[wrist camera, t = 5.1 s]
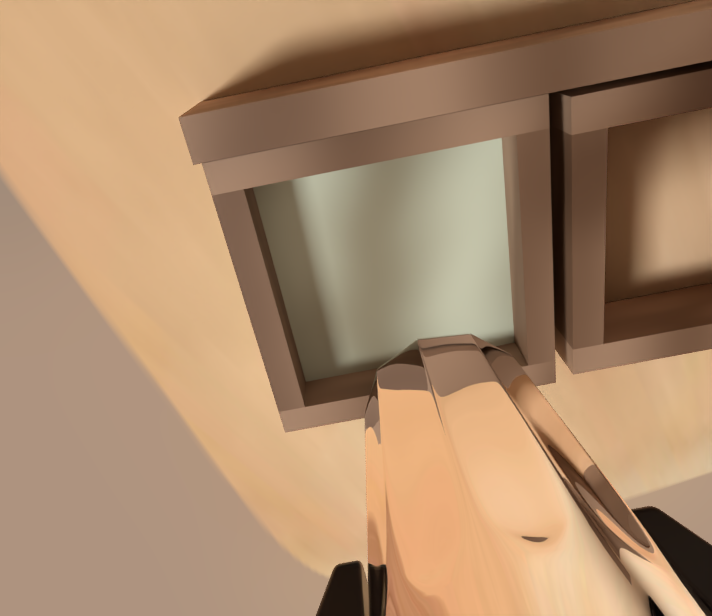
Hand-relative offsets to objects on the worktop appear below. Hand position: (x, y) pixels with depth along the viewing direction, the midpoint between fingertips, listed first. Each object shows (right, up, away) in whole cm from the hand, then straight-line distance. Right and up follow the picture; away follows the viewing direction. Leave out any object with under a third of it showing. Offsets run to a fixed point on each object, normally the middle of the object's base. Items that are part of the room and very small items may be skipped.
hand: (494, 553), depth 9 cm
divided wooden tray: (+4, +6, +11) cm, 13 cm away
